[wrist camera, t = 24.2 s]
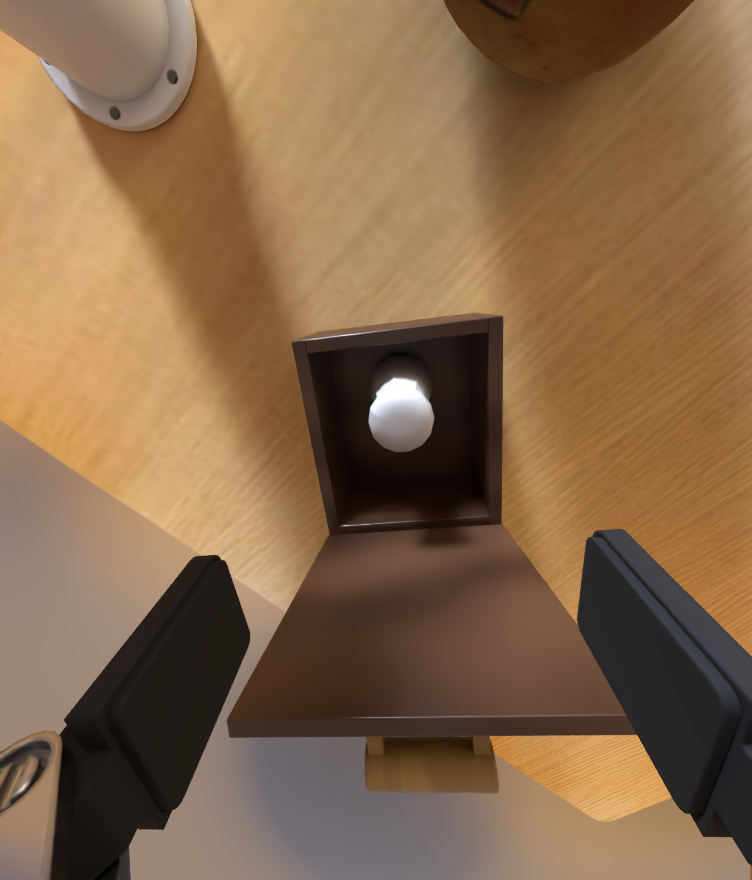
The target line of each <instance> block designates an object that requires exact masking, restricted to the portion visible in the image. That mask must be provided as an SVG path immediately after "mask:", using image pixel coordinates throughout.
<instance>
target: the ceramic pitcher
mask: <svg viewBox="0 0 752 880" xmlns="http://www.w3.org/2000/svg"><path fill="white" fill-rule="evenodd" d="M693 1H694V0H444V2H445V4H446V7H447V8H448V10H449V12H450V14H451V15H452V17H453V19H454V20H455V22H456V24H457V25H458V27H459V28H460V29H461V30H462V31H463V33H464V34H465V35H466V36H467V37H468V39H469V40H470V41H471V42H472V43H473V44H474V45H475V46H476V47H477V48H478V49H479V50H480V51H481V52H482V53H483V54H484V55H485V56H486V57H488V58H490V59H491V60H493V61H494V62H496V63H498V64H499V65H501V66H502V67H504V68H506V69H508V70H510V71H512V72H514V73H516V74H518V75H522V76H527V77H531V78H535V79H537V80H540V81H543V82H547V83H552V82H556V81H561V80H568V79H575V78H581V77H584V76H587V75H590V74H592V73H595V72H599V71H602V70H604V69H607V68H609V67H611V66H613V65H615V64H617V63H619V62H621V61H622V60H624V59H626V58H628V57H629V56H631V55H632V54H633V53H635V52H636V51H637V50H639V49H640V48H641V47H642V46H644V45H645V44H646V43H647V42H649V41H650V40H651V39H652V38H653V37H655V36H656V35H657V34H658V33H660V32H661V31H662V30H663V29H664V28H666V27H667V26H668V25H669V24H670V23H672V22H673V21H674V20H675V19H676V18H677V17H678V16H679V15H680V14H681V13H682V12H683V11H684V10H685V9H686V8H687V7H688V6H689V5H690V4H691V3H692V2H693Z"/></svg>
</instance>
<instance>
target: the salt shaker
mask: <svg viewBox="0 0 752 880" xmlns="http://www.w3.org/2000/svg"><path fill="white" fill-rule="evenodd" d="M432 390H433V382H432V379H431V375H430V372H429V371H428V370H427V368H426V367H425V366H424V365H423V364H422V362H421V361H419V360H417V359H414V358H411V357H409V356H392V357H390V358H388V359H386V360H385V361H383V362H381V363H380V364H378V366H377V367H376V369H375V370H374V372H373V373H372V375H371V377H370V384H369V393H370V396H371V399H372V402H373V404H372V405H371V407H370V413H369V421H368V422H369V425H370V428H371V432H372V435H373V438H374V439H375V440H376V441H377V442H378V443H379V444H380V445H381V446H382V447H384V448H387V449H389V450H392V451H394V452H406V451H411V450H413V449H415V448H417V447H419V446H421V445H423V443H424V442H425V441H426V440H427V438H428V437H429V436H430V434H431V431H432V426H433V422H434V414H433V411H432V407H431V404H430V399H431V395H432Z"/></svg>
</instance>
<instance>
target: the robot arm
mask: <svg viewBox="0 0 752 880" xmlns="http://www.w3.org/2000/svg"><path fill="white" fill-rule="evenodd" d="M0 30H1V31H3V32H4V33H6V34H7V35H9V36H10V37H11V38H13V39H14V40H16V41H17V42H19V43H20V44H22V45H23V46H25V47H26V48H27V49H29V50H30V51H32V52H33V53H35V54H36V55H37V56H38V58H39V60H40V62H41V64H42V66H43V68H44V69H45V71H46V72H47V74H48V75H49V77H50V78H51V80H52V81H53V82H54V84H55V85H56V87H57V88H58V89H59V90H60V91H61V92H62V93H63V94H64V96H65V97H66V98H67V99H68V100H69V101H70V102H71V103H73V104H74V105H75V106H76V107H77V108H79V109H80V110H81V111H82V112H84V113H85V114H87V115H89V116H90V117H92V118H93V119H95V120H97V121H98V122H100V123H102V124H105V125H107V126H109V127H111V128H114V129H119V130H123V131H128V132H129V131H144V130H148V129H151V128H154V127H157V126H158V125H160V124H162V123H163V122H165V121H166V120H168V119H169V118H170V117H171V116H172V115H173V114H174V113H175V112H176V111H177V110H178V108H179V107H180V105H181V103H182V102H183V100H184V99H185V97H186V95H187V93H188V90H189V87H190V85H191V82H192V79H193V75H194V69H195V64H196V53H197V35H196V25H195V17H194V13H193V8H192V4H191V0H0ZM577 621H578V626H579V630H580V632H581V634H582V636H583V638H584V640H585V642H586V644H587V645H588V647H589V649H590V651H591V653H592V654H593V656H594V658H595V660H596V662H597V663H598V665H599V667H600V669H601V670H602V672H603V674H604V676H605V678H606V679H607V681H608V683H609V685H610V687H611V688H612V690H613V692H614V694H615V696H616V697H617V699H618V701H619V703H620V705H621V706H622V708H623V710H624V712H625V714H626V715H627V717H628V719H629V721H630V723H631V724H632V726H633V728H634V730H635V732H636V733H637V735H638V737H639V739H640V741H641V742H642V744H643V746H644V748H645V750H646V751H647V753H648V755H649V757H650V759H651V760H652V762H653V764H654V766H655V768H656V769H657V771H658V773H659V775H660V777H661V778H662V780H663V782H664V784H665V786H666V787H667V789H668V791H669V793H670V795H671V796H672V798H673V800H674V801H675V803H676V804H677V806H678V807H679V808H680V809H681V810H682V811H683V812H684V813H687V814H691V816H692V818H693V820H694V821H695V823H696V825H697V826H698V828H699V830H700V832H701V834H702V835H703V837H732V838H733V840H734V841H735V843H736V844H737V846H738V848H739V849H740V851H741V852H742V854H743V856H744V857H745V859H746V860H747V862H748V863H749V864H750V880H752V657H751V656H750V655H749V654H748V653H747V652H746V651H745V650H744V649H743V648H742V647H741V646H740V645H739V644H738V643H737V642H736V641H735V640H734V639H733V638H732V637H731V636H730V635H729V634H728V633H727V632H726V631H725V630H724V629H723V628H722V627H721V626H720V625H719V624H718V623H717V622H716V621H715V620H714V619H713V618H712V617H711V616H710V615H709V614H708V613H707V612H706V611H705V610H704V609H703V608H702V607H701V606H700V605H699V604H698V603H697V602H696V601H695V600H694V599H693V598H692V597H691V596H690V595H689V594H688V593H687V592H686V591H685V590H684V589H683V588H682V587H681V586H680V585H679V584H678V583H677V582H676V581H675V580H674V579H673V578H672V577H671V576H670V575H669V574H668V573H667V572H666V571H665V570H664V569H663V568H662V567H661V566H660V565H659V564H658V563H657V562H656V561H655V560H654V559H653V558H652V557H651V556H650V555H649V554H648V553H647V552H646V551H645V550H644V549H643V548H642V547H641V546H640V545H639V544H638V543H637V542H636V541H635V540H634V539H633V538H632V537H631V536H630V535H629V534H628V533H627V532H626V531H624V530H622V529H615V530H599V531H595V532H594V534H593V537H589V538H588V539H587V541H586V547H585V556H584V564H583V573H582V581H581V590H580V598H579V607H578V615H577ZM249 642H250V631H249V628H248V625H247V622H246V619H245V616H244V613H243V610H242V607H241V605H240V601H239V598H238V596H237V593H236V590H235V587H234V584H233V581H232V578H231V575H230V572H229V569H228V566H227V564H226V562H225V561H224V560H221V559H220V557H219V556H218V555H208V556H196V557H193V558H192V559H191V560H190V562H189V563H188V564H187V565H186V567H185V568H184V569H183V570H182V572H181V573H180V574H179V575H178V577H177V578H176V579H175V580H174V582H173V583H172V584H171V585H170V587H169V588H168V589H167V591H166V592H165V593H164V594H163V596H162V597H161V598H160V599H159V601H158V602H157V603H156V604H155V606H154V607H153V608H152V609H151V611H150V612H149V613H148V615H147V616H146V617H145V619H143V621H142V622H141V623H140V625H139V626H138V627H137V628H136V630H135V631H134V632H133V633H132V635H131V636H130V637H129V638H128V640H127V641H126V642H125V643H124V645H123V646H122V647H121V648H120V650H119V651H118V652H117V653H116V655H115V656H114V657H113V658H112V660H111V661H110V662H109V664H108V665H107V666H106V667H105V669H104V670H103V671H102V672H101V674H100V675H99V676H98V677H97V679H96V680H95V681H94V682H93V684H92V685H91V686H90V688H89V689H88V690H87V691H86V692H85V694H84V695H83V696H82V698H81V699H80V700H79V701H78V703H77V704H76V705H75V706H74V708H73V709H72V710H71V711H70V713H69V714H68V715H67V716H66V718H65V719H64V721H65V722H66V724H67V726H66V727H65V728H64V730H63V731H62V732H61V734H60V735H58V734H57V733H55V732H54V731H42V732H38V733H34V734H31V735H29V736H27V737H24V738H22V739H20V740H18V741H16V742H15V743H13V744H12V745H10V746H9V747H7V748H6V749H4V750H3V751H1V752H0V880H131V878H130V857H129V845H130V843H131V841H132V839H133V836H134V835H135V832H136V830H137V828H138V829H157V830H160V829H161V830H163V829H164V828H165V826H166V823H167V821H168V819H169V816H170V814H171V812H172V810H174V809H176V808H177V807H178V806H179V805H180V803H181V802H182V800H183V798H184V796H185V794H186V791H187V789H188V786H189V784H190V782H191V780H192V777H193V775H194V773H195V770H196V768H197V766H198V763H199V761H200V759H201V756H202V754H203V752H204V749H205V747H206V745H207V742H208V740H209V738H210V735H211V733H212V731H213V728H214V726H215V724H216V721H217V719H218V716H219V714H220V712H221V710H222V707H223V705H224V702H225V700H226V698H227V696H228V693H229V691H230V689H231V686H232V684H233V682H234V679H235V677H236V675H237V672H238V670H239V668H240V665H241V663H242V660H243V658H244V656H245V653H246V651H247V649H248V646H249Z"/></svg>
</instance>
